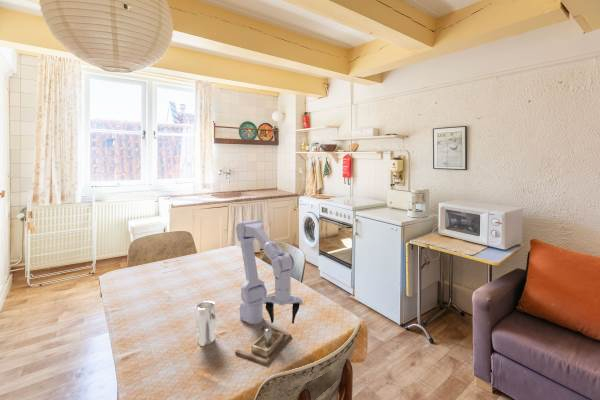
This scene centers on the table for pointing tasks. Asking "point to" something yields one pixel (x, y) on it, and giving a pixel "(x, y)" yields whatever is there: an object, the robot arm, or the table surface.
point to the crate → (267, 342)
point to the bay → (274, 352)
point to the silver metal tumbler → (206, 322)
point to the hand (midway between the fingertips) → (282, 321)
